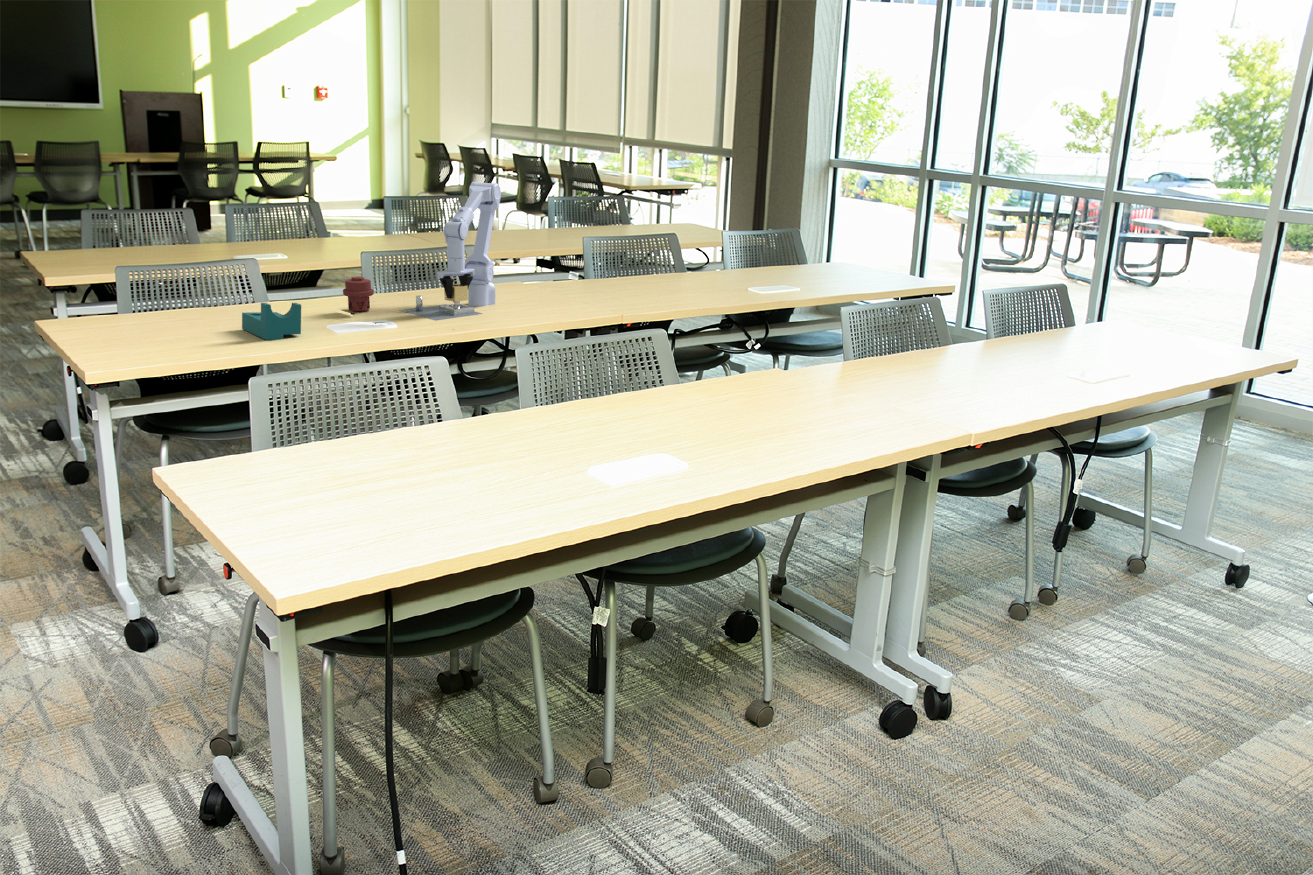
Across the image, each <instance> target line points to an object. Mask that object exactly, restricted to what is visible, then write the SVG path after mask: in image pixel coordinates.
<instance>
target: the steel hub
mask: <svg viewBox="0 0 1313 875" xmlns="http://www.w3.org/2000/svg"><path fill="white" fill-rule="evenodd" d="M441 305H442V306H439V312H442V313H446V314H450V315H453V316H456V315H463V314H471V313H475V312H476V311H475V307H476V306H470V305H468V304H464V303H463V304H462V303H461V301H458V302H453V301H452V303H450V304H447V305H443V304H441Z"/></svg>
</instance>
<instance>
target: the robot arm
mask: <svg viewBox="0 0 1313 875" xmlns="http://www.w3.org/2000/svg"><path fill="white" fill-rule="evenodd" d="M468 188H469V189H468V195H469V196H468V198H467V200H466V202H465V204H464V206H460V207H459V208H458V210H457V211H456V213H455V214H454V215H453V217H452V219H451V220H449V221H447V222H445V224H444V226H443V234H444V238H445V244H446V245H447V248H446V249H447V251H446V252H447V257H446V259H447V261H446V262H447V269H445V270H441V271H436V278H439V281H440V283H441V284H442V286H443V288H444V289H443V290H445V293H446V297H447V298H450V299H451V298H452V287H453V284H454V281H455V279H454V278H452V277H458V279H459V280H458V281H459V284H461V285H466V286H468V300H467V305H468V306H472V307H476V308H477V307H487V306H488V307H489V306H494V305H495V306H496V287H495V284H494V282H492V280H493V278H494V265H495V264H494V262H493V261H492V260H491V259H490V257H489V249H490V244H491V239H492V238H491V237H492V231H493V227H494V226H493V225H494V220H495V215H496V210H499V207H500V203H501V198H502V191H501V187H500V185H499V184H498V183H497V182H496V183H495V182H494V183H493V182H489V183H488V182H478V181H472V182H471V183H470V185H469V187H468ZM476 209H478V210H479V212H480V213H479V219H478V225H477V231H476V236H475V242H474V248H473V253H472V254H471V255H469V256H468V257H467V258H466V259H465V257H466V256H465V239H466V238H467V237H468V231H469V226H470V224H471V223H472V222H473V220H474V218H475V215H474V212H475V211H476Z"/></svg>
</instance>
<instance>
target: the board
mask: <svg viewBox="0 0 1313 875" xmlns="http://www.w3.org/2000/svg"><path fill="white" fill-rule="evenodd" d="M442 305H448V304H447V303H446V304H438V305H430V306H423V311H422V312H417V311H416V307H413V308H407V309H398V311H399V312H403V313H406V314H411V315H414V316H418V317H421V318H425V319H428V320H432V321H442V320H449V319H454V318H455V319H457V318H463V317H470V316H478V315H483V314H484V313H482V312H479V311H475V313H471V314H463V315H456V316H453V315H450V314H446V313H442V312H439V306H442Z"/></svg>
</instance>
